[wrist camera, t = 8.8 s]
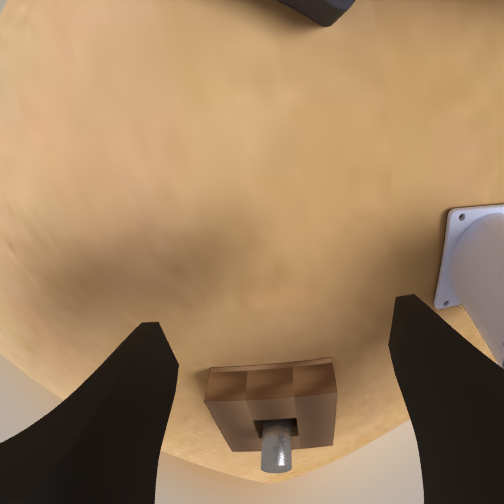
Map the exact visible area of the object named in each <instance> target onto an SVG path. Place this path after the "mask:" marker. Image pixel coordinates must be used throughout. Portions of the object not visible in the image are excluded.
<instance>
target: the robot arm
mask: <svg viewBox="0 0 504 504" xmlns="http://www.w3.org/2000/svg"><path fill="white" fill-rule="evenodd" d="M461 214H462V217H461V218H459V216H460V215H461ZM445 301H446V302H445ZM461 304H462V306H463V307H464V309H465V310H466V312H467V313H468V315H469V316H470V318H471V319H472V321H473V323H474V324H475V326H476V327H477V329H478V331H479V332H480V334H481V335H482V337H483V339H484V340H485V342H486V344H487V346H488V347H489V349H490V351H491V352H492V354H493V356H494V358H495V360H496V361H497V363H498V365H497V364H496V363H495V362H493V361H492V360H491V359H489V358H488V357H487V356H486V355H484V354H483V353H482V352H481V351H479V350H478V349H477V348H476V347H474V346H473V345H472V344H471V343H470V342H468V341H467V340H466V339H465V338H464V337H462V336H461V335H460V334H459V333H458V332H457V331H456V330H454V329H453V328H452V327H451V326H450V325H449V324H448V323H447V322H445V321H444V320H443V319H442V318H441V317H440V316H439V315H438V314H436V313H435V312H434V311H433V310H432V309H431V308H430V307H429V306H427V305H426V304H425V303H424V302H423V301H422V300H421V299H419V298H418V297H417V296H416V295H415V294H411V295H406V296H400V297H396V299H395V307H394V314H393V320H392V326H391V332H390V338H389V344H388V346H389V350H390V354H391V359H392V363H393V367H394V372H395V375H396V378H397V381H398V384H399V386H400V389H401V392H402V395H403V398H404V401H405V404H406V407H407V410H408V413H409V416H410V419H411V422H412V425H413V428H414V432H415V436H416V440H417V444H418V450H419V456H420V462H421V470H422V479H423V488H424V504H504V204H500V205H488V206H477V207H466V208H455V209H452V210H451V211H450V212H449V213H448V218H447V227H446V235H445V242H444V249H443V256H442V262H441V268H440V274H439V279H438V284H437V289H436V294H435V299H434V306H435V308H436V309H442V308H447V307H452V306H456V305H461ZM178 368H179V364H178V362H177V360H176V358H175V356H174V354H173V352H172V350H171V347H170V345H169V343H168V341H167V339H166V337H165V335H164V333H163V330H162V328H161V326H160V324H159V322H145V323H141V324H140V325H139V326H138V327H137V328H136V329H135V330H134V331H133V332H132V333H131V334H130V335H129V336H128V337H127V338H126V339H125V340H124V341H123V342H122V343H121V344H120V345H119V347H118V348H117V349H116V350H115V351H114V352H113V353H112V354H111V355H110V356H109V357H108V358H107V359H106V360H105V361H104V362H103V364H102V365H101V366H100V367H99V368H98V369H97V370H96V371H95V372H94V373H93V374H92V375H91V376H90V377H89V378H88V379H87V380H86V381H85V382H84V383H83V384H82V385H81V386H80V387H79V388H78V389H77V390H75V391H74V392H73V393H72V394H71V395H70V396H69V397H68V398H67V399H65V400H64V401H63V402H62V403H61V404H59V405H58V406H57V407H56V408H55V409H53V410H52V411H51V412H49V413H48V414H47V415H45V416H44V417H43V418H41V419H40V420H38V421H37V422H35V423H34V424H32V425H31V426H30V427H28V428H27V429H25V430H23V431H22V432H20V433H19V434H17V435H15V436H14V437H11V438H9V439H8V440H6V441H4V442H2V443H0V504H154V503H155V487H156V477H157V468H158V460H159V455H160V450H161V445H162V442H163V438H164V434H165V430H166V426H167V422H168V419H169V415H170V411H171V407H172V403H173V400H174V396H175V391H176V384H177V376H178Z"/></svg>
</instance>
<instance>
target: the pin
mask: <svg viewBox="0 0 504 504" xmlns="http://www.w3.org/2000/svg"><path fill="white" fill-rule="evenodd" d="M291 469H292V463H291V420H290V418H287V419H273V420H263V430H262V457H261V470H262V471H264V472H268V473H283V472H287V471H290V470H291Z"/></svg>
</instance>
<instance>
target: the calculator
mask: <svg viewBox="0 0 504 504" xmlns="http://www.w3.org/2000/svg"><path fill="white" fill-rule="evenodd" d="M278 1H279V2H281V3H283V4H285V5H287V6H289V7H291V8H292V9H294V10H296V11H298V12H299V13H301V14H303V15H305V16H306V17H308V18H310V19H311V20H313V21H315V22H316V23H318V24H320V25H322V26H324V27H329V26H331V25H332V24H333V23H335V22H336V21H337V20H338V19H339V18H340V17H341V16H342V15H343V14H344V13H345V12H346V11H347V10H348V9H349V8H350V7H351V6H352V4H353V3H354V2H355V0H278Z"/></svg>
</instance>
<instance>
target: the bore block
mask: <svg viewBox="0 0 504 504" xmlns="http://www.w3.org/2000/svg"><path fill="white" fill-rule="evenodd" d="M204 402H205V404H206V405H207V407H208V409H209V411H210V413H211V415H212V417H213V419H214V420H215V422H216V424H217V426H218V428H219V429H220V431H221V433H222V435H223V437H224V438H225V440H226V442H227V444H228V445H229V447H230V449H231V450H232V452H246V451H262V430H263V420H273V419H287V418H290V420H291V450H293V449H304V448H314V447H323V446H331V445H333V438H334V428H335V417H336V404H337V387H336V381H335V374H334V368H333V363H332V358H326V359H318V360H309V361H300V362H290V363H280V364H268V365H254V366H238V367H215V368H210V373H209V378H208V384H207V389H206V395H205V400H204Z"/></svg>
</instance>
